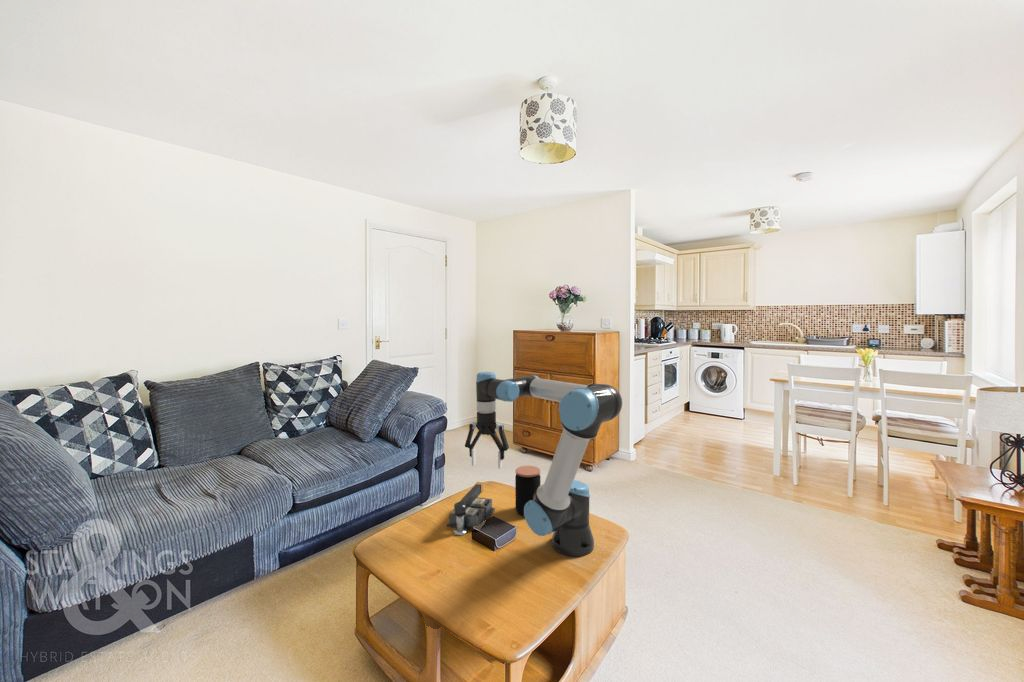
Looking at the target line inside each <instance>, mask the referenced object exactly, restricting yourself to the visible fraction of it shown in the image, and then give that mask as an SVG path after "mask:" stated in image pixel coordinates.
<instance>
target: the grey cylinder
mask: <svg viewBox="0 0 1024 682" xmlns="http://www.w3.org/2000/svg"><path fill="white" fill-rule="evenodd" d="M456 518H457V528H453V529H454V530H453V535H455V536H458V537H460V536H464V535H466V534H467V533H468V530H467V529H466V528H465V527H464V515H463V516H456Z"/></svg>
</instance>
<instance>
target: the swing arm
mask: <svg viewBox="0 0 1024 682" xmlns="http://www.w3.org/2000/svg"><path fill="white" fill-rule="evenodd" d="M483 491H484V482H479V481H477V482H476V483H475V484H474V486H473V487H472V488H471V489H469V490H468V492H466V494H465V495H464V496H463V497H462V498H461V500H460V501H457V502H455V503H454V504H453V508H454V509H453V510H454V515H456V516H463V515H465V514H466V510H467V509H468V507H469V506H470V505H471V504H472V503H473V502H474V500H475V499H476V498H477V497H480V495H481V494H482V493H483Z"/></svg>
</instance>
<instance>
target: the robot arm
mask: <svg viewBox="0 0 1024 682" xmlns="http://www.w3.org/2000/svg"><path fill="white" fill-rule="evenodd" d="M475 385H476V387H475V388H476V389H475V390H476V411H477V412H476V422H475V423H474V422H471V423H470V424H469V427H468V428H469V430H468V433H467V438H466V440H465V444H464V447H465V448H468V450H469V457H471V467H474V466H475V465H476V464H477V449H476V447H475V446H476V444H477V443H478V441H479V439H480V437H481V436H484V435H485V436H490V437H491V438H492V440H493V442H494V443H495V445H496V447H497V449H498V450H499V451H498V452H497V469H499V470H500V469H501V468H502V467H503V460H505V452H507V451H508V450H509V449H510V447H509V443H508V439H507V437H506V434H505V430H504V429H505V426H504V424H497V422H496V421H497V412H496V410H497V408H496V407H497V403H496V402H497V401H496V400H499V401H503V402H514V401H515V400H517V398H523V397H531V398H538V399H543V400H548V401H552V402H557V403H559V406H558V413H559V419H560V424H561V427H562V432H561V436H560V438H559V441H558V443H557V446H556V449H555V452H554V455H553V458H552V461H551V464H550V466H549V470H548V472H547V475H546V477H545V481H544V483H541V484H540V486H539V487H538V489H537V492H536V494H535V497H534V499H533V500H530V501H529V502H527V503H526V504H525V506H524V516H523V517H524V519H525V521H526V525H527V526H528V527H529V529H530V531H532V532H533V534H536V535H537V536H540V537H544V536H547V535H551V534H552V537H551V542H552V543H551V545H552V547H553V549H555V551H557V552H558V553H560V554H562V555H566V556H569V557H581V556H587V555H588V554H590V553H592V552H593V550H594V548H595V538H594V535H593V532H592V530H591V526H590V497H591V496H590V488H589V485H587V484H586V483H585V482H583V481H580V480H577V479H576V477H577V473H578V471H579V468H580V465H581V463H582V460H583V458H584V455H585V453H586V450H587V448H588V445H589V442H590V440H594V439H595V438H597V436H598V433H599V431H600V429H601V425H602V424H603V423H606V422H608V421H611V420H614V419H615V418H616V417H617V416H618V415H619V414H620V413H621V410H622V408H623V398H622V395H621V393H620V391H618V389H617V388H616V387H614V386H612V385H610V384H605V383H595V382H591V383H589V384H588V385H587V384H580V383H574V382H565V381H561V380H560V381H559V380H553V379H545V378H540V377H539V376H538V375H527V376H521V377H514V378H507V379H500V378H499V379H498V378H497V377H496V373H495V372H494V371H480V372H478V373H477V374H476V382H475ZM475 429H477V430H478V431H477V433H476V435H475V436H474V438H473V435H474V431H475ZM496 429H497V431H498V433H499V436H498V435H497V432H496ZM499 437H500V438H499ZM472 439H473V440H472Z"/></svg>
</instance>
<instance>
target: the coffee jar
mask: <svg viewBox="0 0 1024 682" xmlns="http://www.w3.org/2000/svg"><path fill="white" fill-rule="evenodd" d="M514 471H515V475H514V476H515V480H514V481H515V482H514V483H515V485H514V486H515V487H514V488H515V496H514V497H515V511H516V513H517V514H518V515H519V516H521V517H525V516H524V506H525V504H526V503H527V502H529V501H530V500H533V499H534V497H535V494H536V492H537V489H538V487H539V486H540V485H541V469H540V468H539V467H537V466H533V465H521V466H518V467H517V468H515V470H514Z"/></svg>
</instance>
